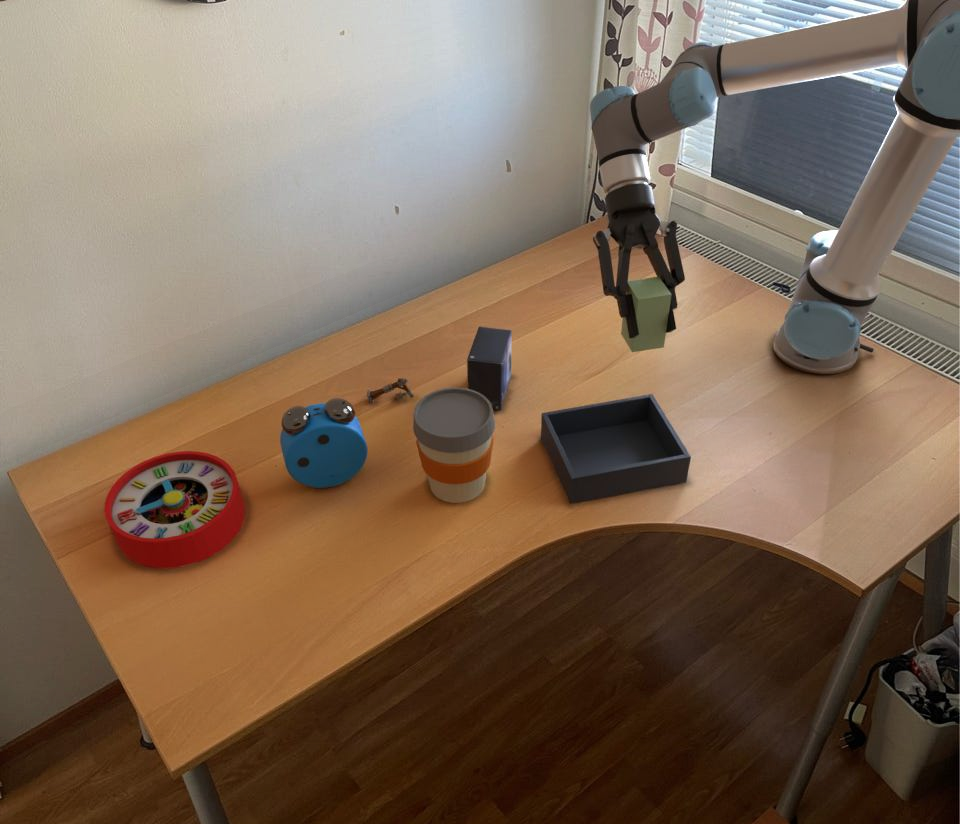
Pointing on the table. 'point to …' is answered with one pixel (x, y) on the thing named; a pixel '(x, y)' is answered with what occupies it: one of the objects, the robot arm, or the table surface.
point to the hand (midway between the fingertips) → (652, 333)
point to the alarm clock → (323, 443)
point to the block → (648, 313)
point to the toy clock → (175, 509)
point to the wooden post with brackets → (388, 388)
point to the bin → (613, 448)
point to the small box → (490, 364)
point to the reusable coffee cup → (455, 441)
